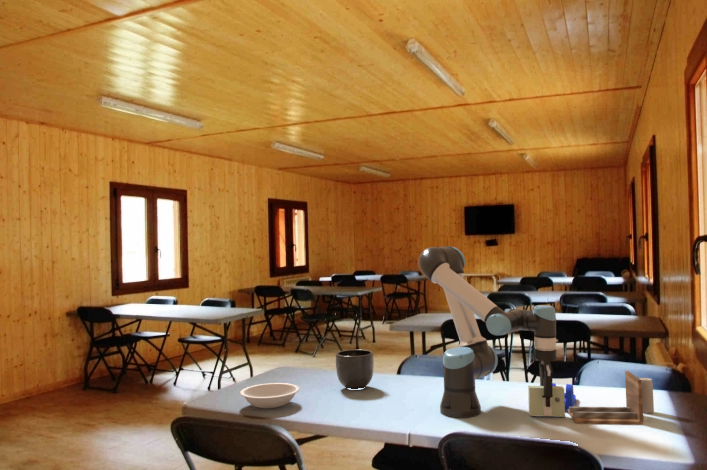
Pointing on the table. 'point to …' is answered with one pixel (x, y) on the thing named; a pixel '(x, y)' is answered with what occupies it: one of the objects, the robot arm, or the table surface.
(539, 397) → the door panel
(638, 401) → the wooden l-shaped piece
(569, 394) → the bracket
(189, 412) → the table surface
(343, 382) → the planter
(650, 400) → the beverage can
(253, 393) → the soup bowl
